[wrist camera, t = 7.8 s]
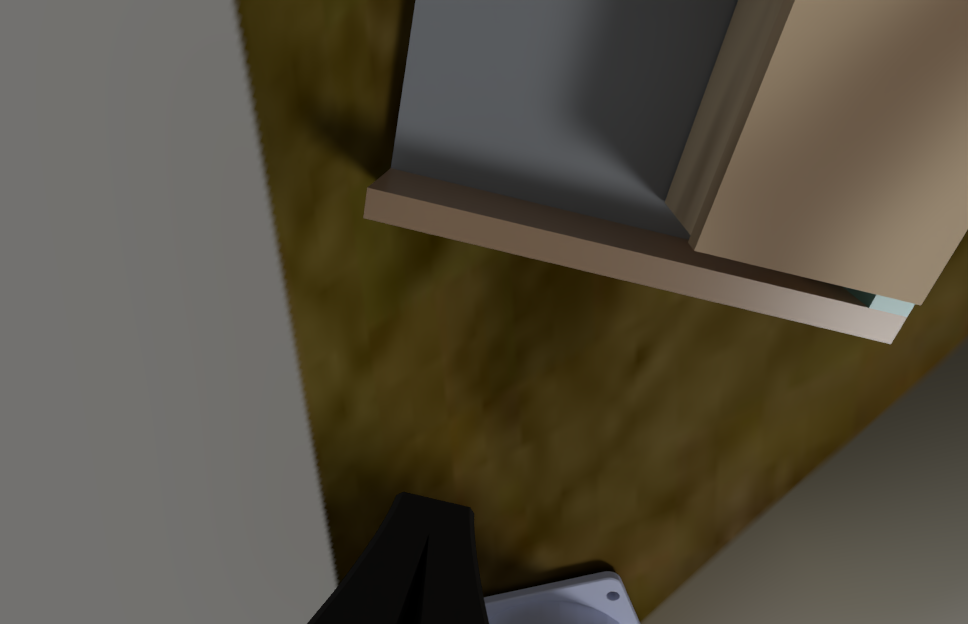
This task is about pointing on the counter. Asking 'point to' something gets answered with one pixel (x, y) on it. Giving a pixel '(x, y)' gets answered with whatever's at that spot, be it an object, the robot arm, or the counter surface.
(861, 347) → the counter surface
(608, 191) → the bay
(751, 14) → the tan wooden block
